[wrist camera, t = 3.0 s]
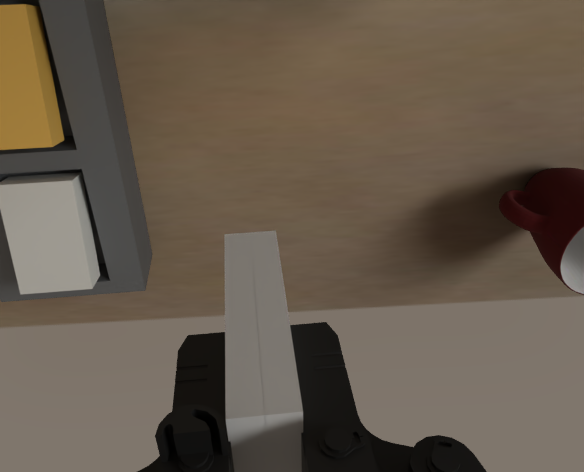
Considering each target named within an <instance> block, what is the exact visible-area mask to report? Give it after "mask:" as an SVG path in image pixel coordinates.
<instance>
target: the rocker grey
mask: <svg viewBox="0 0 584 472" xmlns="http://www.w3.org/2000/svg"><path fill="white" fill-rule="evenodd" d="M0 210H1V215H2V219H3V223H4V227H5V231H6V236H7V240H8V244H9V248H10V253H11V257H12V261H13V265H14V269H15V274H16V278H17V282H18V286H19V290H20V295H21V294H34V293H46V292H59V291H72V290H84V289H93V287H94V285H95V283H96V282H97V280H98V278H99V276H100V272H99V266H98V261H97V255H96V249H95V244H94V238H93V233H92V227H91V221H90V216H89V210H88V205H87V199H86V193H85V188H84V182H83V177H82V172H79V173H63V174H46V175H30V176H14V177H8V178H6V179H4V180H3V181H1V182H0Z"/></svg>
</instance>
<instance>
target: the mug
mask: <svg viewBox="0 0 584 472" xmlns="http://www.w3.org/2000/svg"><path fill="white" fill-rule="evenodd" d="M521 205H523V207H522V206H521ZM499 209H500V211H501V213H502V214H503V215H504V216H505V217H506V218H507V219H508V220H509V221H511V222H512V223H514V224H515V225H517V226H519V227H521V228H523V229H525V230H528V231H530V233H531V235H532V237H533V239H534V241H535V243H536V245H537V247H538V249H539V251H540V253H541V255H542V257H543V258H544V260H545V262H546V263H547V265H548V266H549V267H550V269H551V270H552V271H553V272H554V273H555V274H556V276H557V277H558V278H559V279H560V280H561V281H562V282H563V283H564V284H565V285H566V286H567V287H568V288H569V289H571V290H572V291H574V292H576V293H579V294H583V295H584V170H581V169H576V168H551V169H546V170H543V171H541V172H539V173H537V174H536V175H535V176H533V177H532V178H531V179H530V181H529V182H528V183H527V185H526V187H525V190H524V191H519V190H510V191H508V192H506V193H505V194H504V195H503V196H502V197H501V199H500V202H499Z"/></svg>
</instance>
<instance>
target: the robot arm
mask: <svg viewBox="0 0 584 472" xmlns="http://www.w3.org/2000/svg"><path fill="white" fill-rule="evenodd" d="M155 437H156V441H157V445H158V450H159V454H160V456H159V457H158V458H157V459H156V460H155V461H154V462H153V463H151V464H150V465H149V466H147V467H145V468H144V469H142V470H140V471H138V472H486V470H485V469H484V468H483V466H482V465H481V463H480V462H479V461H478V459H477V458H476V457H475V455H474V454H473V453H472V452H471V451H470V450H469V449H468V448H467V447H466V446H465V445H464V444H462V443H461V442H459V441H457V440H455V439H453V438H450V437H445V436H439V435H438V436H431V437H426V438H424V439H423V440H421V441H419V442H417V443H416V445H415V446H414V447H409V446H404V445H399V444H394V443H390V442H387V441H383V440H381V439H379V438H378V437H376V436H374V435H373V434H371V433H370V432H369V431H368V430H366V428H365V427H364V426H363V424H362V423H361V421H360V419H359V416H358V414H357V410H356V406H355V402H354V398H353V394H352V390H351V386H350V383H349V378H348V375H347V370H346V368H345V363H344V359H343V355H342V351H341V347H340V343H339V339H338V335H337V334H336V333H335V332H334V331H333V330H332V328H331V327H330V326H329V325H328V324H327V323H326V322H322V323H312V324H299V325H290V322H289V315H288V309H287V302H286V296H285V289H284V282H283V276H282V269H281V263H280V256H279V249H278V243H277V236H276V231H266V232H253V233H239V234H225V332H221V333H209V334H198V335H188V336H187V338H186V339H185V341H184V342H183V344H182V345H181V347H180V349H179V350H178V359H177V371H176V379H175V389H174V400H173V410H172V412H171V413H169V414H168V415H167V416H166V417H165V418H164V419H163V421H162V422H161V423H160V424H159V426H158V429H157V432H156V435H155Z"/></svg>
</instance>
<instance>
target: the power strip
mask: <svg viewBox="0 0 584 472" xmlns="http://www.w3.org/2000/svg"><path fill="white" fill-rule="evenodd" d="M16 4H27V5H33V6H39V7H40V12H41V17H42V22H43V28H44V33H45V39H46V44H47V49H48V55H49V60H50V65H51V71H52V76H53V82H54V87H55V92H56V98H57V103H58V108H59V114H60V119H61V125H62V130H63V135H64V141H62V142H60V143H59V144H57V145H55V146H54V147H44V148H26V149H9V150H0V182H1V181H3V180H4V179H6V178H8V177H14V176H30V175H46V174H63V173H79V172H82V177H83V182H84V188H85V193H86V199H87V205H88V210H89V216H90V221H91V227H92V233H93V238H94V244H95V249H96V255H97V261H98V266H99V272H100V276H99V278H98V280H97V282H96V283H95V285H94V287H93V289H84V290H72V291H59V292H46V293H34V294H21V295H20V290H19V286H18V282H17V278H16V274H15V269H14V265H13V261H12V257H11V253H10V248H9V244H8V240H7V236H6V231H5V227H4V223H3V219H2V215H1V210H0V300H1V302H7V301H19V300H32V299H44V298H57V297H70V296H82V295H95V294H107V293H120V292H132V291H145V290H146V285H147V280H148V274H149V269H150V264H151V259H152V250H151V245H150V240H149V235H148V230H147V225H146V219H145V214H144V209H143V204H142V199H141V194H140V188H139V183H138V178H137V173H136V168H135V163H134V157H133V152H132V147H131V142H130V137H129V132H128V126H127V121H126V116H125V111H124V106H123V101H122V95H121V90H120V85H119V80H118V75H117V70H116V64H115V59H114V54H113V49H112V44H111V39H110V33H109V28H108V23H107V18H106V13H105V8H104V2H103V0H0V5H16Z"/></svg>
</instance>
